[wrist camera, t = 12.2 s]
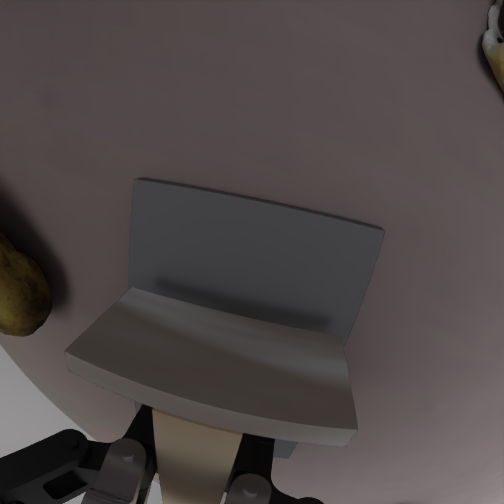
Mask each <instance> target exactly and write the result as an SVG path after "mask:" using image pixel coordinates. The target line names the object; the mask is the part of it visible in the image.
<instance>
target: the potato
mask: <svg viewBox="0 0 504 504" xmlns="http://www.w3.org/2000/svg"><path fill="white" fill-rule="evenodd" d="M51 310H52V296H51V291H50V288H49V285H48V283H47V281H46V279H45V277H44V275H43V273H42V272H41V270H40V269H39V267H38V265H37V264H36V263H35V262H34V261H33V260H32V259H31V258H29V257H28V256H27V255H25V254H23V253H19V252H17V251H16V249H15V248H14V246H13V245H12V244H11V243H10V241H9V240H8V239H7V238H6V237H5V236H4V234H3V233H2V232H1V231H0V332H2V333H4V334H5V335H13V336H23V337H24V336H29V335H31V334H33V333H34V332H35V331H36V330H37V329H38V328H39V327H41V326H42V325H43V324H44V322H45V321H46V320H47V318H48V316H49V314H50V312H51Z"/></svg>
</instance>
